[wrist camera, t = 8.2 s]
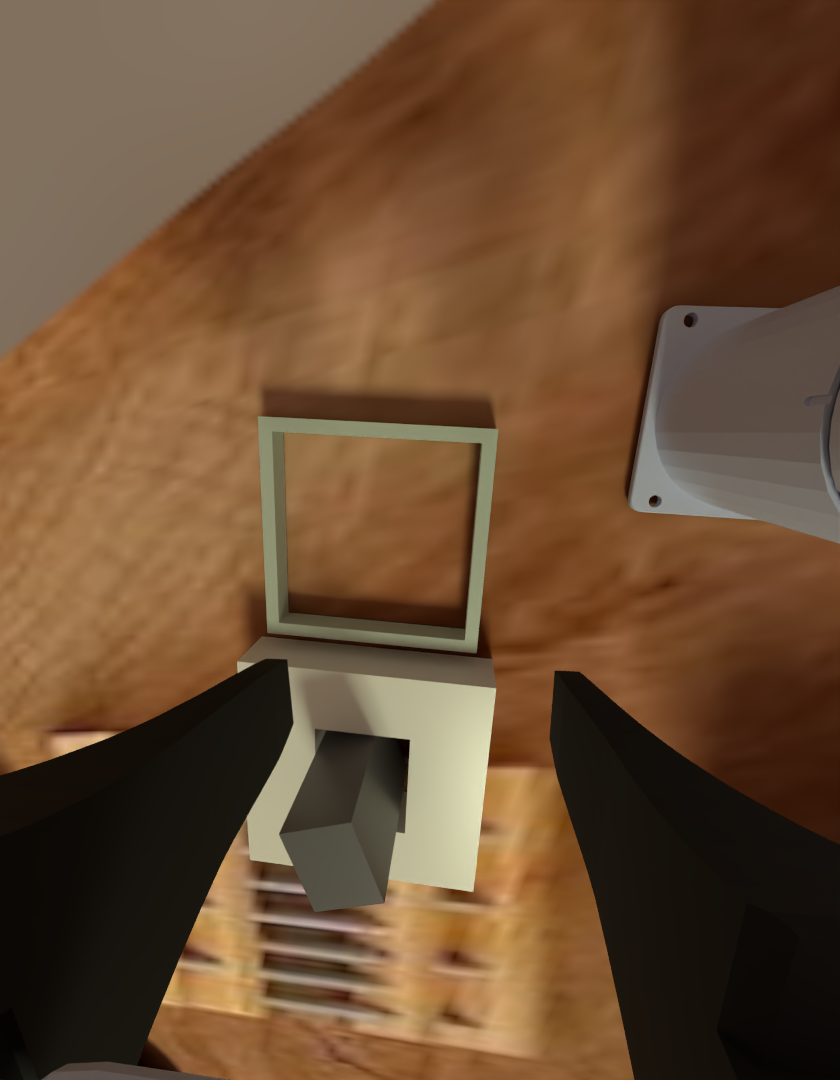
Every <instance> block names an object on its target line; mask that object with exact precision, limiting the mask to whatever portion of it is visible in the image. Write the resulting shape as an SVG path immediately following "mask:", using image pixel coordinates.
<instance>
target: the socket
mask: <svg viewBox="0 0 840 1080" xmlns="http://www.w3.org/2000/svg"><path fill="white" fill-rule="evenodd" d="M266 658H267V659H287V661H288V671H289V681H290V691H291V701H292V711H293V721H294V724H293V727H292V729H291V732H290V734H289V737H288V739H287V742H286V744H285V747H284V749H283V752H282V754H281V756H280V759H279V760H278V762H277V764H276V766H275V768H274V770H273V771H272V773H271V775H270V777H269V779H268V780H267V782H266V784H265V786H264V787H263V789H262V791H261V793H260V795H259V796H258V798H257V800H256V802H255V803H254V805H253V807H252V809H251V810H250V812H249V814H248V816H247V821H248V836H249V851H250V860H256V861H263V862H270V863H277V864H284V865H291V866H293V864H292V862H291V860H290V857H289V855H288V853H287V851H286V849H285V847H284V844H283V842H282V840H281V838H280V836H279V833H280V831H281V828H282V826H283V824H284V822H285V820H286V817H287V815H288V813H289V811H290V809H291V806H292V804H293V802H294V800H295V798H296V795H297V793H298V791H299V789H300V787H301V785H302V782H303V780H304V778H305V776H306V774H307V771H308V769H309V767H310V765H311V763H312V760H313V758H314V756H315V754H316V752H317V750H318V747H319V745H320V743H321V741H322V739H323V736H324V734H325V732H326V730H331V731H339V732H348V733H357V734H365V735H374V736H382V737H391V738H400V739H408V740H410V751H409V769H408V787H407V792H404V791H403V794H402V800H401V806H400V812H399V818H398V824H397V830H396V836H395V842H394V848H393V854H392V860H391V866H390V872H389V878H388V880H395V881H402V882H409V883H416V884H423V885H430V886H436V887H443V888H450V889H457V890H464V891H471V892H473V889H474V880H475V871H476V862H477V854H478V845H479V836H480V827H481V818H482V809H483V800H484V792H485V783H486V774H487V765H488V756H489V747H490V739H491V730H492V721H493V712H494V703H495V694H496V683H495V676H494V668H493V660H492V659H488V658H477V657H467V656H457V655H447V654H437V653H426V652H416V651H406V650H396V649H386V648H376V647H365V646H355V645H345V644H335V643H325V642H315V641H304V640H294V639H284V638H274V637H264V636H262V637H261V638H260V639H259V640H258V641H257V642H256V643H255V644H254V645H253V646H252V647H251V648H250V649H249V650H248V651H247V652H246V653H245V654H244V655H243V656H242V657H241V658H240V659H239V660H238V661H237V667H238V673H239V672H240V671H242V670H244V669H246V668H248V667H250V666H251V665H253V664H255V663H257V662H259V661H262V660H264V659H266Z"/></svg>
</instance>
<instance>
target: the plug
mask: <svg viewBox="0 0 840 1080" xmlns="http://www.w3.org/2000/svg"><path fill="white" fill-rule="evenodd" d="M406 770H407V764H406V762H405V759H404V756H403V753H402V751H401V748H400V745H399V742H398V740H397V738H391V737H382V736H374V735H365V734H357V733H348V732H339V731H331V730H326V732H325V734H324V736H323V739H322V741H321V743H320V745H319V747H318V750H317V752H316V754H315V756H314V758H313V760H312V763H311V765H310V767H309V769H308V771H307V774H306V776H305V778H304V780H303V782H302V785H301V787H300V789H299V791H298V793H297V795H296V798H295V800H294V802H293V804H292V806H291V809H290V811H289V813H288V815H287V817H286V820H285V822H284V824H283V826H282V828H281V831H280V833H279V836H280V838H281V840H282V842H283V844H284V847H285V849H286V851H287V853H288V855H289V857H290V860H291V862H292V864H293V866H294V868H295V870H296V873H297V875H298V877H299V879H300V881H301V883H302V886H303V888H304V890H305V892H306V894H307V896H308V898H309V901H310V903H311V905H312V907H313V909H314V911H315V912H319V911H326V910H334V909H342V908H350V907H358V906H366V905H374V904H382V903H384V902H385V896H386V890H387V884H388V878H389V872H390V866H391V860H392V854H393V848H394V842H395V836H396V830H397V824H398V818H399V812H400V806H401V800H402V794H403V788H404V782H405V776H406Z"/></svg>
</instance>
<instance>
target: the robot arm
mask: <svg viewBox="0 0 840 1080" xmlns="http://www.w3.org/2000/svg"><path fill="white" fill-rule="evenodd" d="M686 315H689V316H691V317H692V319H693V324H692V326H691V327H690V328H689V327H686V326H685V324H684V318H685V316H686ZM654 495H656V496H657V499H658V501H657V503H656V504H655V505H653V506H650V505H649V499H650V498H651V497H652V496H654ZM628 504H629V506H630V507H631V508H632V509H633V510H635V511H639V512H650V513H665V514H679V515H694V516H709V517H724V518H738V519H753V520H762V521H765V522H768V523H772V524H775V525H778V526H782V527H785V528H789V529H792V530H795V531H799V532H802V533H805V534H809V535H812V536H816V537H819V538H822V539H826V540H829V541H832V542H836V543H839V544H840V286H837V287H835V288H832V289H830V290H827V291H825V292H822V293H819V294H817V295H814V296H812V297H809V298H806V299H804V300H801V301H799V302H796V303H794V304H791V305H788V306H786V307H783V308H753V307H719V306H684V305H679V306H674V307H672V308H670V309H669V310H667V311H665V313H664V314H663V315H662V316H661V319H660V322H659V328H658V333H657V339H656V344H655V350H654V356H653V361H652V367H651V372H650V378H649V383H648V389H647V394H646V400H645V405H644V411H643V417H642V422H641V428H640V433H639V439H638V444H637V450H636V455H635V461H634V466H633V472H632V477H631V483H630V489H629V494H628ZM293 724H294V721H293V711H292V701H291V691H290V681H289V671H288V661H287V659H267V658H266V659H264V660H262V661H259V662H257V663H255V664H253V665H251V666H250V667H248V668H246V669H244V670H242V671H240V672H239V673H237V674H235V675H233V676H232V677H230V678H228V679H226V680H224V681H223V682H221V683H219V684H217V685H216V686H214V687H212V688H210V689H208V690H207V691H205V692H203V693H201V694H199V695H198V696H196V697H194V698H192V699H190V700H188V701H186V702H184V703H182V704H180V705H178V706H176V707H174V708H173V709H171V710H169V711H167V712H165V713H163V714H161V715H159V716H157V717H155V718H153V719H151V720H149V721H146V722H144V723H142V724H140V725H138V726H136V727H133V728H131V729H129V730H126V731H124V732H122V733H119V734H117V735H115V736H112V737H110V738H107V739H105V740H103V741H100V742H97V743H95V744H92V745H89V746H86V747H84V748H81V749H78V750H76V751H73V752H70V753H68V754H65V755H62V756H59V757H57V758H54V759H51V760H48V761H45V762H42V763H39V764H36V765H33V766H30V767H27V768H24V769H21V770H17V771H14V772H11V773H7V774H4V775H1V776H0V1080H229V1079H222V1078H215V1077H209V1076H202V1075H195V1074H188V1073H181V1072H174V1071H168V1070H161V1069H154V1068H147V1067H140V1066H137V1064H138V1062H139V1059H140V1056H141V1054H142V1051H143V1048H144V1046H145V1043H146V1041H147V1038H148V1035H149V1033H150V1030H151V1028H152V1025H153V1023H154V1020H155V1018H156V1015H157V1013H158V1010H159V1008H160V1005H161V1003H162V1000H163V998H164V995H165V993H166V990H167V988H168V985H169V983H170V980H171V978H172V975H173V973H174V970H175V968H176V966H177V963H178V961H179V958H180V956H181V954H182V951H183V949H184V947H185V944H186V942H187V940H188V937H189V935H190V933H191V930H192V928H193V926H194V923H195V921H196V919H197V916H198V914H199V912H200V909H201V907H202V905H203V903H204V901H205V898H206V896H207V894H208V892H209V890H210V887H211V885H212V883H213V881H214V879H215V877H216V874H217V872H218V870H219V868H220V866H221V863H222V861H223V859H224V857H225V855H226V854H227V852H228V850H229V848H230V846H231V844H232V842H233V840H234V838H235V837H236V835H237V833H238V831H239V830H240V828H241V826H242V824H243V823H244V821H245V819H246V817H247V816H248V814H249V812H250V810H251V809H252V807H253V805H254V803H255V802H256V800H257V798H258V796H259V795H260V793H261V791H262V789H263V787H264V786H265V784H266V782H267V780H268V779H269V777H270V775H271V773H272V771H273V770H274V768H275V766H276V764H277V762H278V760H279V759H280V756H281V754H282V752H283V749H284V747H285V744H286V742H287V739H288V737H289V734H290V732H291V729H292V727H293ZM550 742H551V748H552V753H553V758H554V763H555V768H556V773H557V778H558V781H559V784H560V787H561V790H562V794H563V797H564V800H565V803H566V806H567V809H568V812H569V815H570V819H571V822H572V825H573V828H574V831H575V834H576V837H577V840H578V843H579V846H580V849H581V852H582V855H583V859H584V862H585V865H586V868H587V871H588V874H589V878H590V881H591V885H592V888H593V892H594V895H595V899H596V904H597V908H598V912H599V917H600V921H601V925H602V930H603V934H604V938H605V943H606V947H607V951H608V956H609V961H610V965H611V970H612V974H613V979H614V984H615V988H616V993H617V997H618V1002H619V1006H620V1011H621V1016H622V1021H623V1025H624V1030H625V1035H626V1040H627V1045H628V1050H629V1055H630V1060H631V1065H632V1070H633V1075H634V1079H635V1080H840V845H839V844H837V843H835V842H832V841H830V840H828V839H826V838H824V837H822V836H820V835H818V834H816V833H814V832H812V831H810V830H808V829H806V828H804V827H802V826H800V825H798V824H796V823H794V822H792V821H791V820H789V819H787V818H785V817H783V816H781V815H779V814H777V813H775V812H774V811H772V810H770V809H768V808H767V807H765V806H763V805H761V804H759V803H758V802H756V801H754V800H752V799H751V798H749V797H747V796H745V795H744V794H742V793H740V792H738V791H737V790H735V789H733V788H732V787H730V786H728V785H727V784H725V783H723V782H722V781H720V780H718V779H717V778H715V777H714V776H712V775H711V774H709V773H708V772H706V771H705V770H703V769H702V768H700V767H699V766H697V765H695V764H694V763H692V762H691V761H689V760H688V759H686V758H685V757H684V756H682V755H681V754H679V753H678V752H676V751H675V750H674V749H672V748H671V747H670V746H668V745H667V744H666V743H664V742H663V741H662V740H660V739H659V738H658V737H656V736H655V735H654V734H652V733H651V732H650V731H648V730H647V729H646V728H645V727H643V726H642V725H641V724H640V723H638V722H637V721H636V720H635V719H634V718H632V717H631V716H630V715H629V714H627V713H626V712H625V711H624V710H623V709H622V708H620V707H619V706H618V705H617V704H616V703H615V702H613V701H612V700H611V699H610V698H609V697H608V696H607V695H605V694H604V693H603V692H602V691H601V690H600V689H599V688H598V687H596V686H595V685H594V684H593V683H592V682H591V681H590V680H589V679H587V678H586V677H585V676H584V675H583V674H581V673H580V672H573V671H555V676H554V689H553V702H552V715H551V728H550Z"/></svg>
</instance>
